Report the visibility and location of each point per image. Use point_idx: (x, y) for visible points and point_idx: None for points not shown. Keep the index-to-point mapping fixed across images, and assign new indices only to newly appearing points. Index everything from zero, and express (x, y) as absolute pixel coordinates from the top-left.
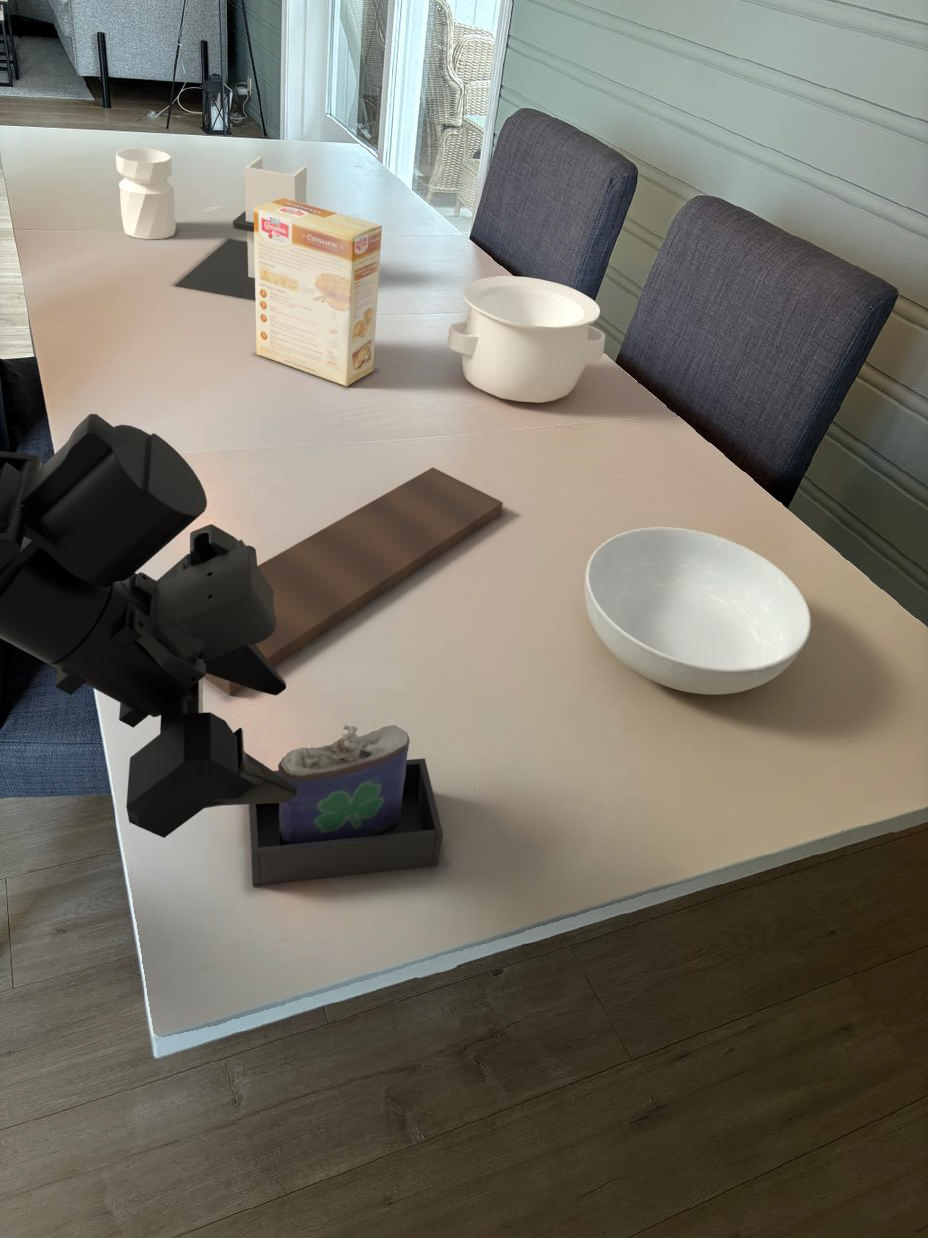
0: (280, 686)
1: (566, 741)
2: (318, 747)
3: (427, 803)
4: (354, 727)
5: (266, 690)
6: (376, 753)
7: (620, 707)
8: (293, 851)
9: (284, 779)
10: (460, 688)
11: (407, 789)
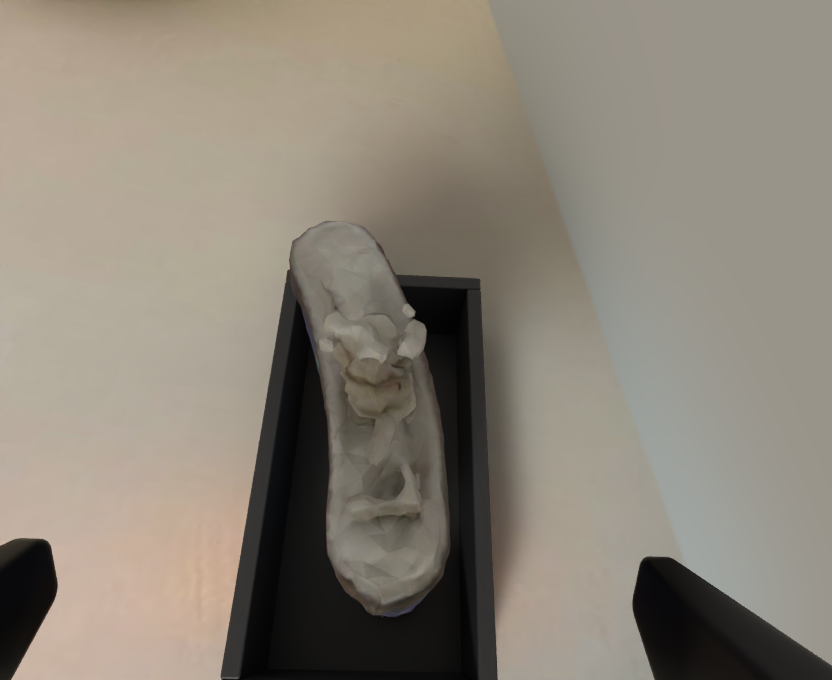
0: (31, 567)
1: (262, 105)
2: (333, 459)
3: None
4: (334, 316)
5: (20, 643)
6: (387, 301)
7: (220, 32)
8: (492, 587)
9: (702, 608)
10: (84, 208)
11: (307, 336)
